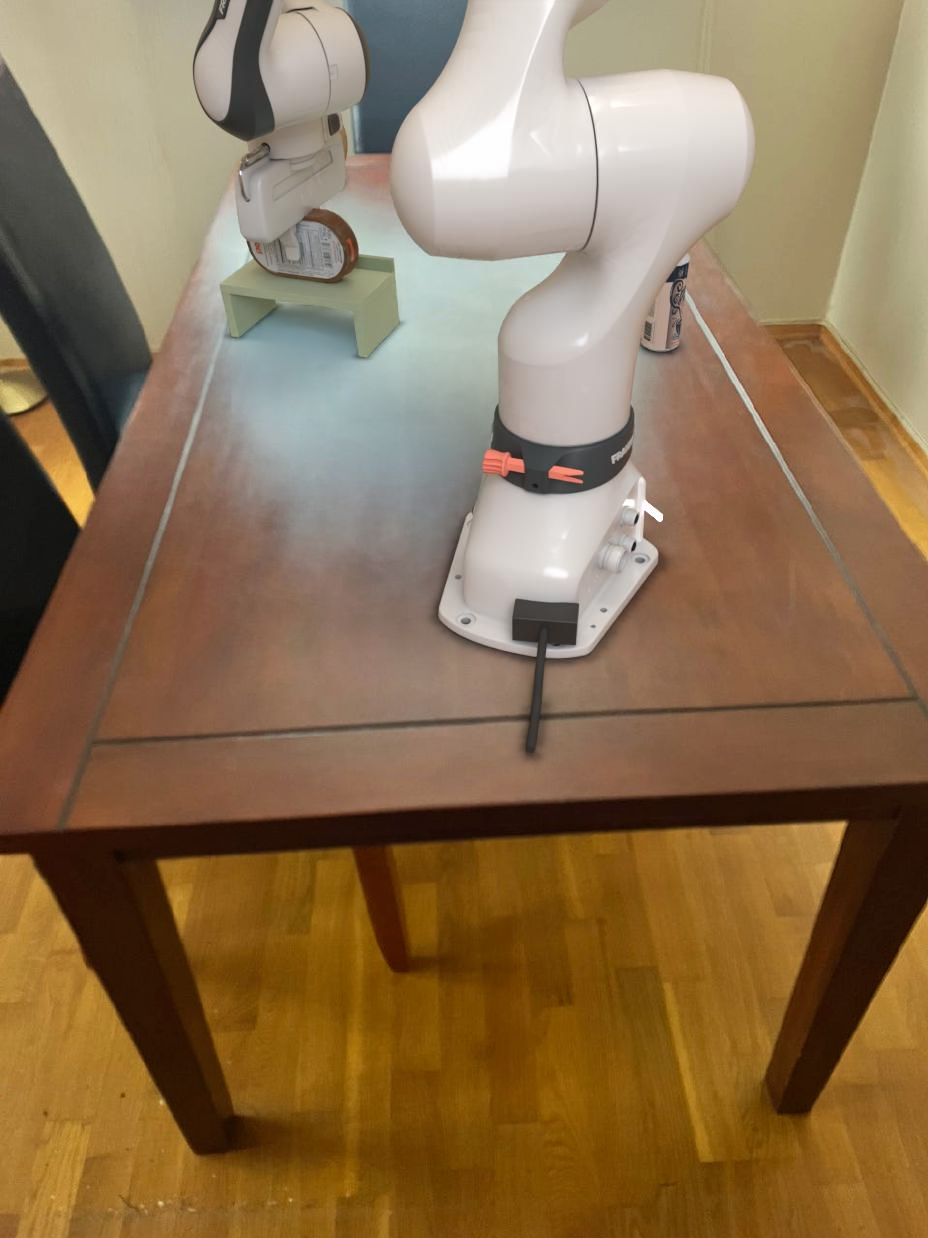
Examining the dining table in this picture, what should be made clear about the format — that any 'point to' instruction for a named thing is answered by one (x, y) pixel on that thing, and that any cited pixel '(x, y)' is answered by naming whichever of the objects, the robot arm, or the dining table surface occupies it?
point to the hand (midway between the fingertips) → (303, 252)
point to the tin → (313, 249)
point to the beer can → (667, 312)
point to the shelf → (318, 298)
